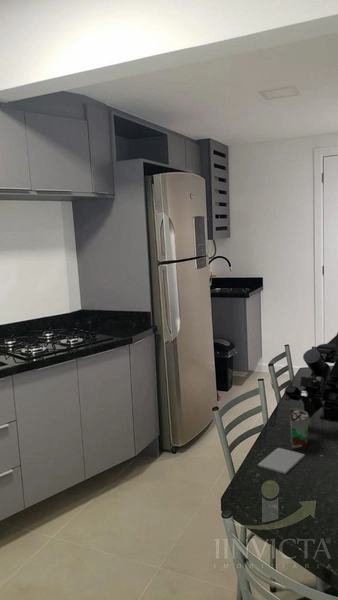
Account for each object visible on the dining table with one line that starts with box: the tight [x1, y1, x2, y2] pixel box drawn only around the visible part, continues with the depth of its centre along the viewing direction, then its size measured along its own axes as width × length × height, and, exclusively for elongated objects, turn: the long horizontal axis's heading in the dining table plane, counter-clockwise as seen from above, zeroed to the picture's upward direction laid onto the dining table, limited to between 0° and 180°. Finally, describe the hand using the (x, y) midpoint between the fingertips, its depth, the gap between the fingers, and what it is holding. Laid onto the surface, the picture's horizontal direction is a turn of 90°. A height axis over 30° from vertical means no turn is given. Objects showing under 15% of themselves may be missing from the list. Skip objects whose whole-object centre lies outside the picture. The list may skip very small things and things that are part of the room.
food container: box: [289, 407, 311, 451], centre depth 153 cm, size 12×6×10 cm, turn 168°
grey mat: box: [257, 447, 305, 475], centre depth 143 cm, size 13×9×1 cm
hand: (306, 419), depth 156 cm, fingers closed
